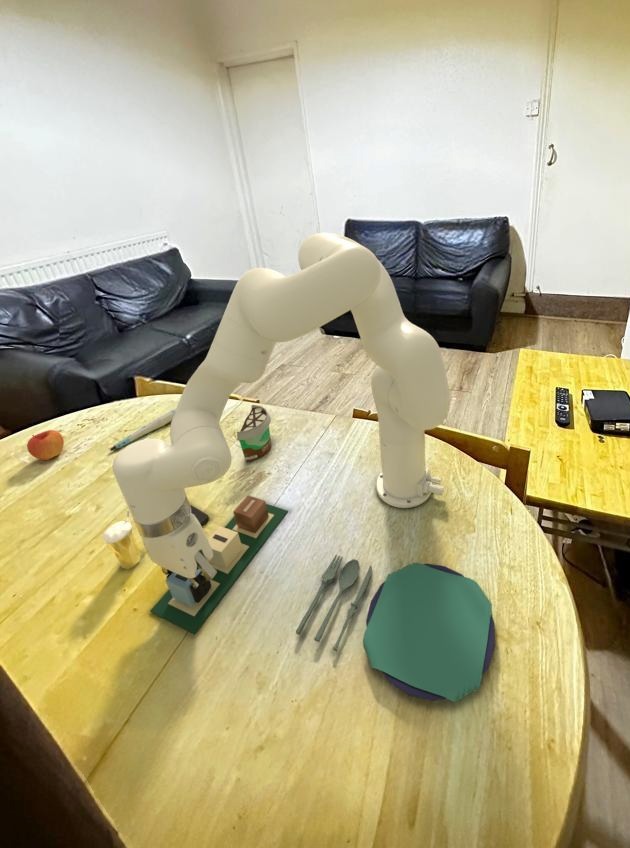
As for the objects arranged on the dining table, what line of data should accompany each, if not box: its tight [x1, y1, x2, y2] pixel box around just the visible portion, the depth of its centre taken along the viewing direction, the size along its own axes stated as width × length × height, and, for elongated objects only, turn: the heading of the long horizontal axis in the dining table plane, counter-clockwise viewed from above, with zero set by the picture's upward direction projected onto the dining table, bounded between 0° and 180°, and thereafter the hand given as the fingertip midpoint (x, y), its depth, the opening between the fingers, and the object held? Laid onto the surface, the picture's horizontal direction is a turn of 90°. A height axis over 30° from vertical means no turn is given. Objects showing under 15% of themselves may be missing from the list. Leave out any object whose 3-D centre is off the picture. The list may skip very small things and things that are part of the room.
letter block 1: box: [207, 525, 243, 569], centre depth 78 cm, size 4×4×5 cm
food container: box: [236, 404, 272, 463], centre depth 105 cm, size 12×6×10 cm, turn 179°
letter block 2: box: [232, 494, 269, 533], centre depth 84 cm, size 4×4×5 cm
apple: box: [26, 429, 65, 461], centre depth 108 cm, size 7×7×8 cm
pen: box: [109, 408, 176, 452], centre depth 115 cm, size 19×3×3 cm, turn 144°
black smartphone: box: [190, 504, 210, 527], centre depth 88 cm, size 5×1×10 cm
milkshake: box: [102, 510, 142, 570], centre depth 77 cm, size 5×5×10 cm
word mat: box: [149, 503, 289, 635], centre depth 79 cm, size 10×26×1 cm, turn 157°
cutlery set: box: [295, 554, 496, 703], centre depth 66 cm, size 20×30×2 cm, turn 69°
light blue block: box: [165, 569, 211, 607], centre depth 71 cm, size 4×4×5 cm
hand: (191, 588), depth 71 cm, fingers closed on light blue block, 4 cm apart
